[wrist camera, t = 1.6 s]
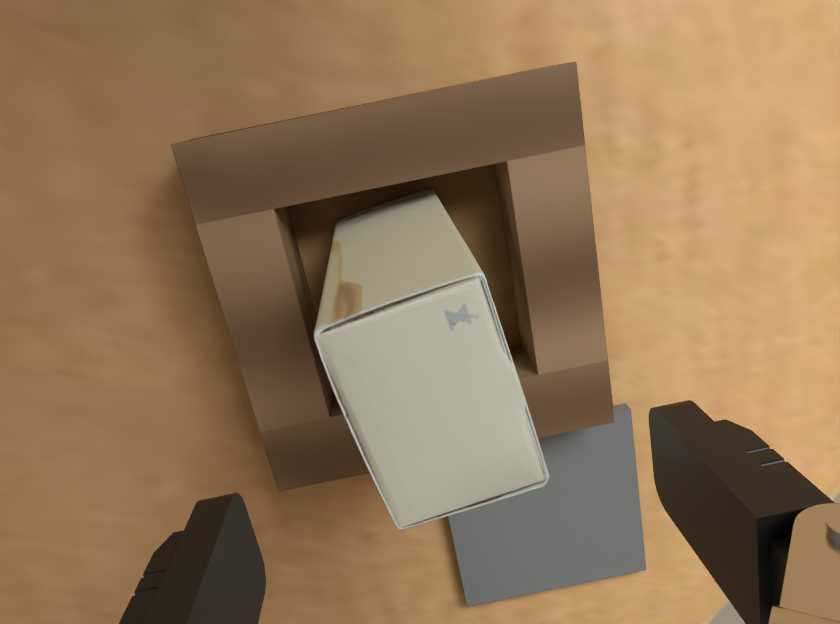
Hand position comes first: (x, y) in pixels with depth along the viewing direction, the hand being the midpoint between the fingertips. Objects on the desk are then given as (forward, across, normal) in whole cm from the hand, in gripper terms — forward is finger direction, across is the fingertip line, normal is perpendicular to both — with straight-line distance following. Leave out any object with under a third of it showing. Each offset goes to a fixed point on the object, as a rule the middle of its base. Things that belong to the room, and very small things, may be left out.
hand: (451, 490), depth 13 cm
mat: (+15, -4, +12) cm, 20 cm away
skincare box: (+16, 0, 0) cm, 16 cm away
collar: (+15, 0, 0) cm, 15 cm away
